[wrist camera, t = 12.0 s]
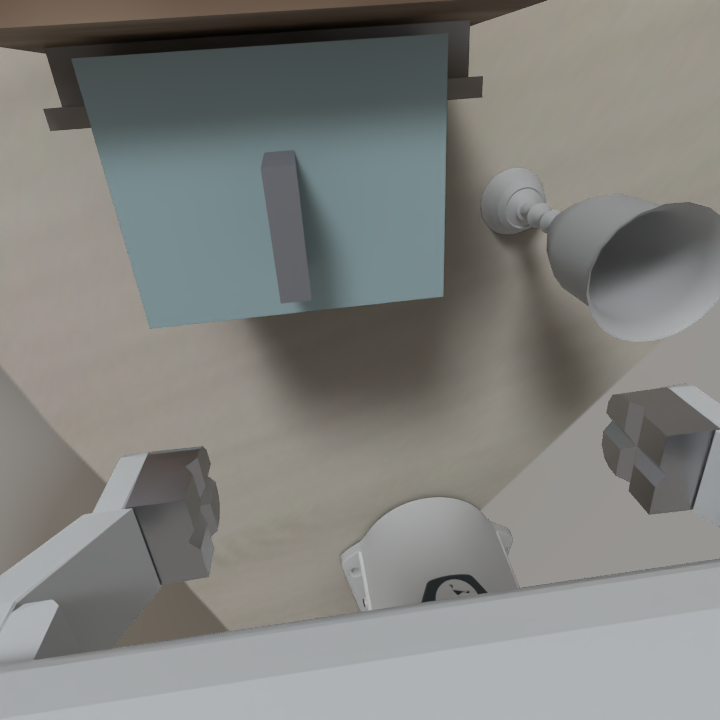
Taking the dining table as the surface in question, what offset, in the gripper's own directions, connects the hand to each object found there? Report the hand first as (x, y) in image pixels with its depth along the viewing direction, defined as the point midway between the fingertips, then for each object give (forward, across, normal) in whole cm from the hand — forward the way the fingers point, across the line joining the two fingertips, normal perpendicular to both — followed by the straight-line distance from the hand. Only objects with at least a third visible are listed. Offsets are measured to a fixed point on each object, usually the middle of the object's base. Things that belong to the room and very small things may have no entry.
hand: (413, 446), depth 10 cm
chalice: (+32, -14, +2) cm, 35 cm away
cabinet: (+26, +3, -3) cm, 26 cm away
